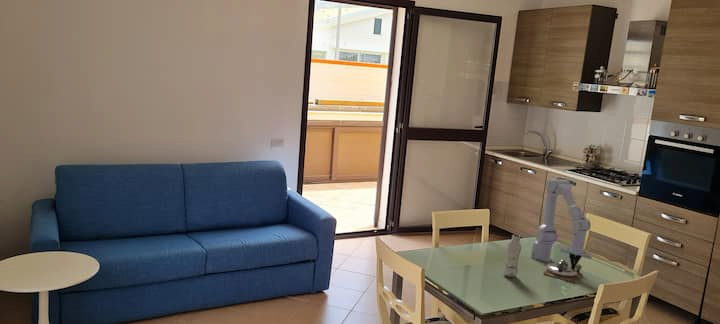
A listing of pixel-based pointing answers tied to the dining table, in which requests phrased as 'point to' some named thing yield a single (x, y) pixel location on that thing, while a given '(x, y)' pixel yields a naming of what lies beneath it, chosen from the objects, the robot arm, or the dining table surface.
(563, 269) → the cover
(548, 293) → the dining table surface
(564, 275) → the turntable
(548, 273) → the base board
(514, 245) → the plastic bottle
